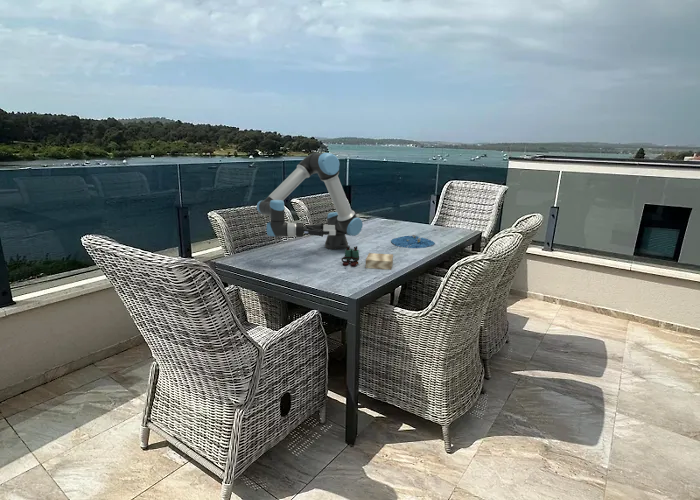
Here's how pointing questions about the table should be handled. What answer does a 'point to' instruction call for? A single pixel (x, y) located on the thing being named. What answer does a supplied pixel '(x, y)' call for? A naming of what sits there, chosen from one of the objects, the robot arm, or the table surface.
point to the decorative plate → (412, 242)
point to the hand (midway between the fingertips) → (335, 230)
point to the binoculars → (351, 256)
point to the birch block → (379, 261)
